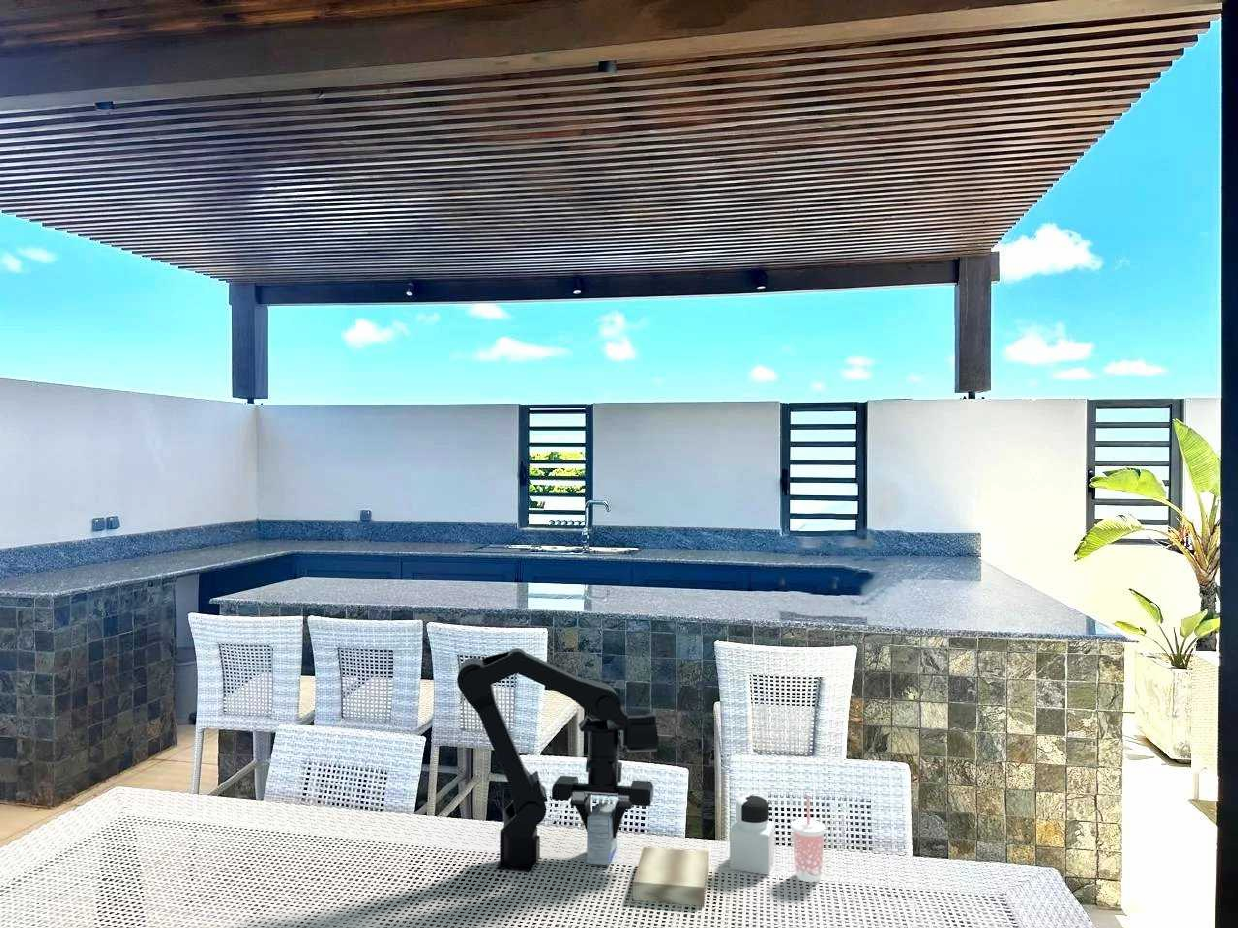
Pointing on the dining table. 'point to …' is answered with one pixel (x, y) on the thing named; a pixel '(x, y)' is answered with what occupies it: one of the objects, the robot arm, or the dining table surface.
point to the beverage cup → (808, 847)
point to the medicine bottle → (752, 836)
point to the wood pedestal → (671, 876)
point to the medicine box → (601, 835)
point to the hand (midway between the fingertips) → (602, 836)
